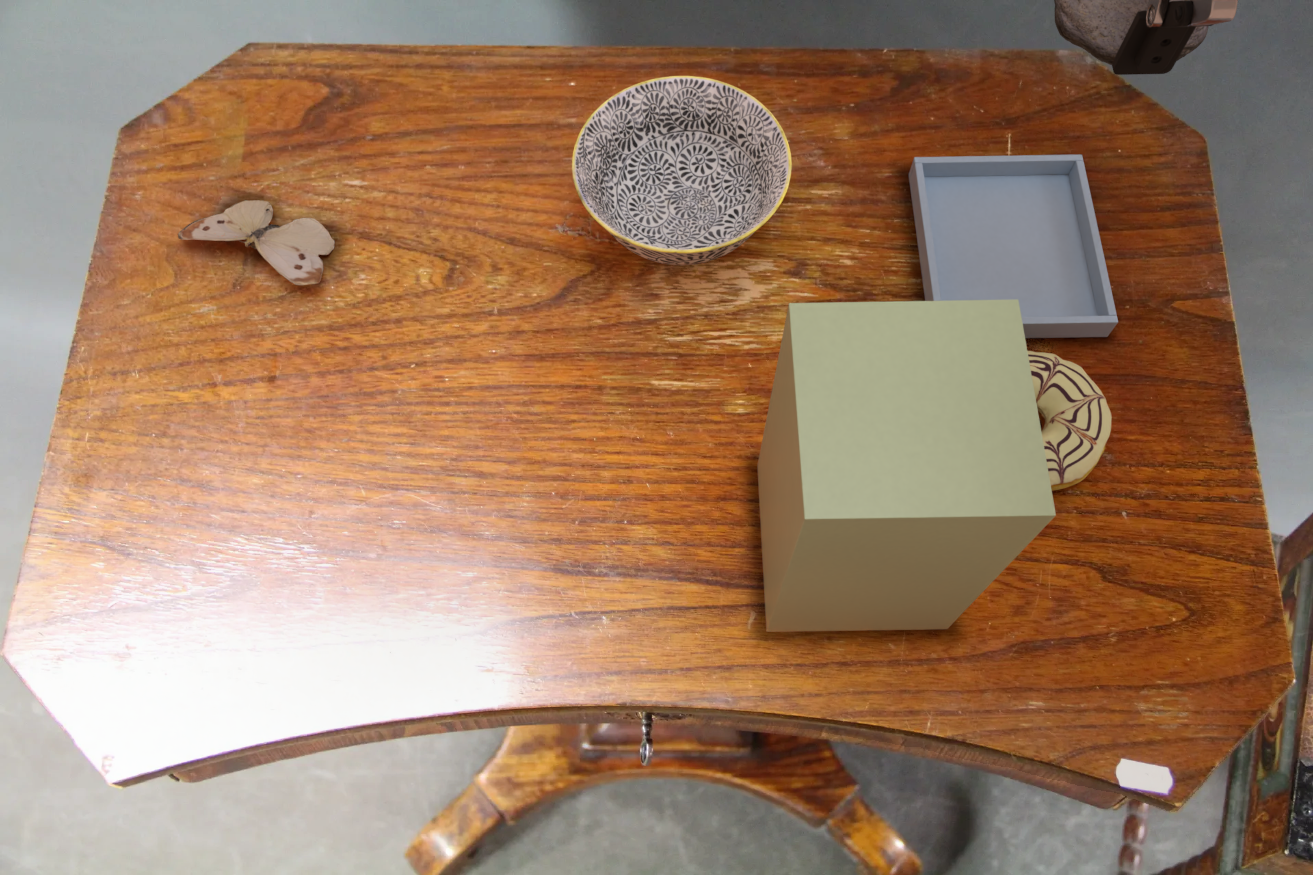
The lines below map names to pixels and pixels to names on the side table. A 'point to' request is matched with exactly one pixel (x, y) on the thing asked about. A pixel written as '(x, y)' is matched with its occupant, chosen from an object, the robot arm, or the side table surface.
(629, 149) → the bowl
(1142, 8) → the stone
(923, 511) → the stand
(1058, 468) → the decorated donut
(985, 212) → the tray
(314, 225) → the butterfly
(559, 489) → the side table surface
